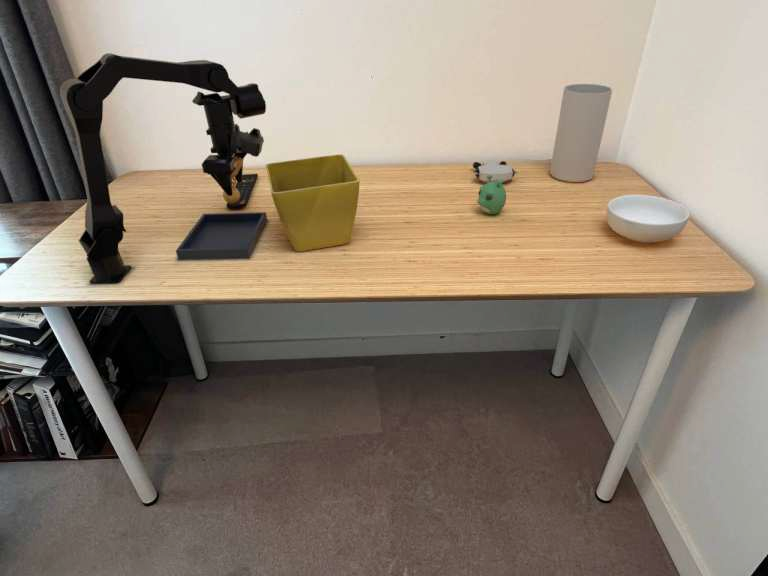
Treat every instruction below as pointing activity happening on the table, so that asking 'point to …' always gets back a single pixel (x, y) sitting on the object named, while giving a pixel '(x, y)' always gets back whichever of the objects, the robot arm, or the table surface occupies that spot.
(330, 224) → the flower pot
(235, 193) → the figurine
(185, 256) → the tray
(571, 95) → the cylinder vase
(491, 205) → the alien toy
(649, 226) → the cereal bowl
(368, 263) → the table surface
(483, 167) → the robot toy
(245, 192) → the remote control
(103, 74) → the robot arm
